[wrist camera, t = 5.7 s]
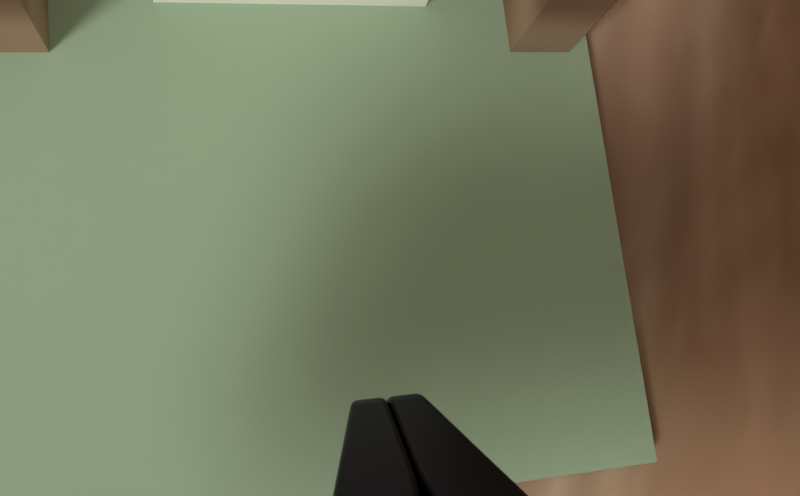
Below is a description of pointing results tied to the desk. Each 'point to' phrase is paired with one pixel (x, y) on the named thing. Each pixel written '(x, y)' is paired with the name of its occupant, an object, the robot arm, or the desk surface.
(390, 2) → the cream block
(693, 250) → the desk surface
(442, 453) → the robot arm
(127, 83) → the putting strip
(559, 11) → the wooden tray
